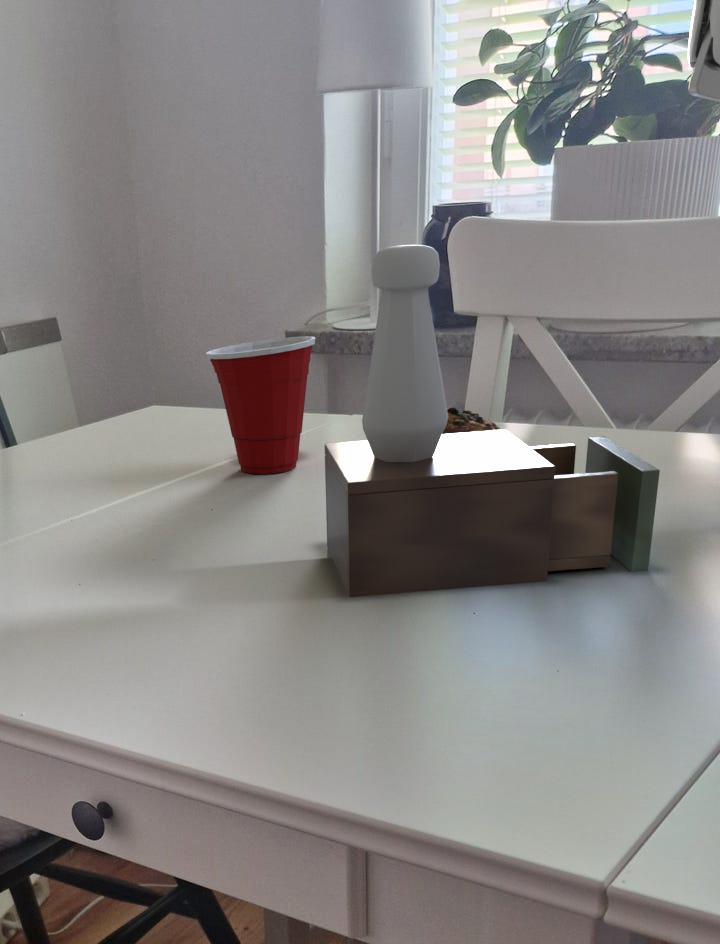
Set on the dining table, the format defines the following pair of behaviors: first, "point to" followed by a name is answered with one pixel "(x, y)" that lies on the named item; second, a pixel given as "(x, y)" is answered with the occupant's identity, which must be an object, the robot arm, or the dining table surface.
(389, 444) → the salt shaker
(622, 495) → the drawer
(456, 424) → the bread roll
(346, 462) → the cabinet
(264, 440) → the plastic cup
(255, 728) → the dining table surface
